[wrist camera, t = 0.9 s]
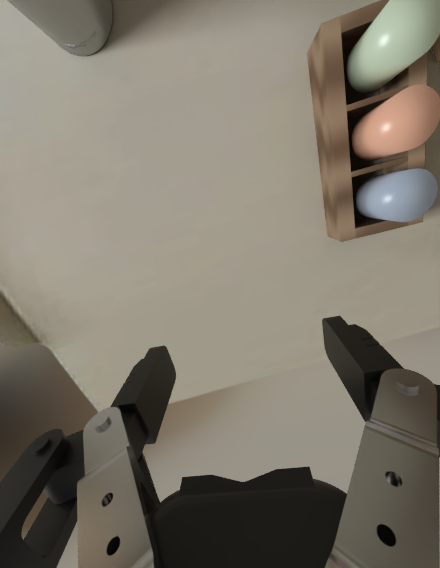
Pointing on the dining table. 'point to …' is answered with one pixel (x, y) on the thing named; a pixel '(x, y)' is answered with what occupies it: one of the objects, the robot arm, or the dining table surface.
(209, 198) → the dining table surface
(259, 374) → the dining table surface
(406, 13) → the pale green rounded cylinder
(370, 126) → the peach rounded piece
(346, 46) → the wooden compartment tray
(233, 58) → the dining table surface
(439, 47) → the beech cube
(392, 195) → the light blue cylinder
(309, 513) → the robot arm
